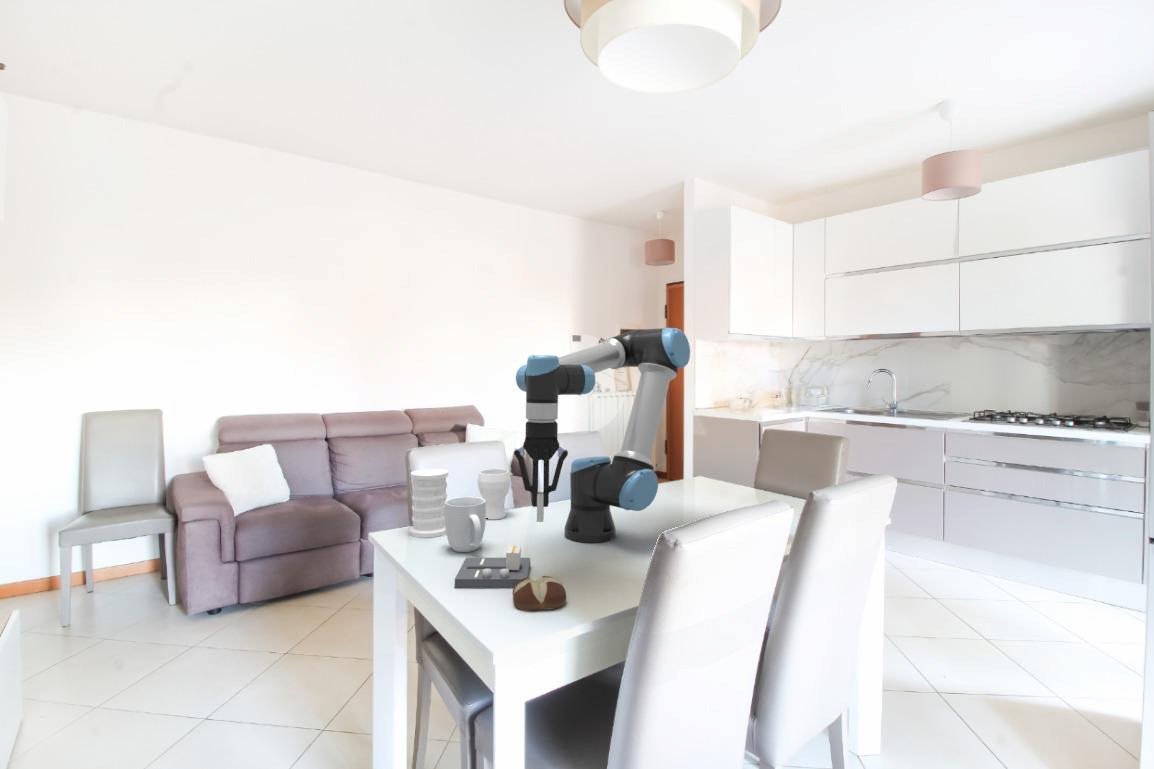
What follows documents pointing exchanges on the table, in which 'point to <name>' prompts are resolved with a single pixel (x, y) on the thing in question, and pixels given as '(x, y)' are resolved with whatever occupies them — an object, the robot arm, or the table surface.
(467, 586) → the console
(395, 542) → the table surface
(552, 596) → the bread
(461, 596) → the table surface
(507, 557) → the fader cap
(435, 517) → the decorative container
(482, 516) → the mug
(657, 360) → the robot arm
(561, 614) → the table surface
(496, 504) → the cup
